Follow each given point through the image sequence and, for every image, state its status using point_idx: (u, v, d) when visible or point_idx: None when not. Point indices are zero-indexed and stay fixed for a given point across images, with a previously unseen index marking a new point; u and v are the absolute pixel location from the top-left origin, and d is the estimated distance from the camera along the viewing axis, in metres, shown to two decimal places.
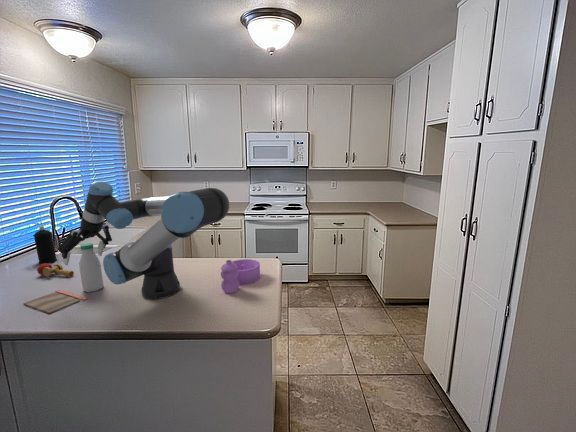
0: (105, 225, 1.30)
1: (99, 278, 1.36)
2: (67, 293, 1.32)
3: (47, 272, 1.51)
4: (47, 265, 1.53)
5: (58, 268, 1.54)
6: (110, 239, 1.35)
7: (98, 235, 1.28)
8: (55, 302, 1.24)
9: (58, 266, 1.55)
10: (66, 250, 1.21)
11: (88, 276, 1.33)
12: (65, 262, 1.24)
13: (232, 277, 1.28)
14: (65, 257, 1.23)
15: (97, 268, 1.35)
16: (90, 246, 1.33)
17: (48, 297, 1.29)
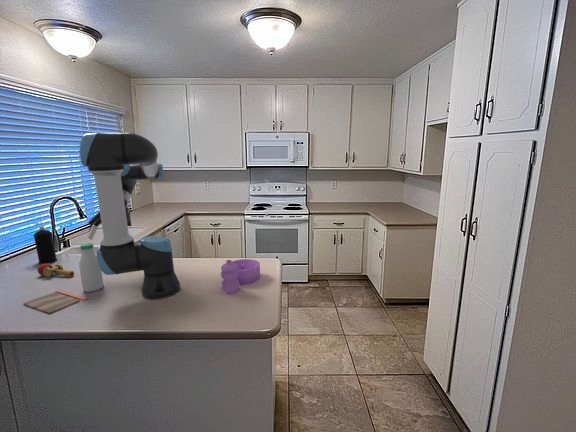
0: None
1: (99, 278, 1.36)
2: (67, 293, 1.32)
3: (47, 272, 1.51)
4: (47, 265, 1.53)
5: (58, 268, 1.54)
6: (127, 221, 1.46)
7: None
8: (55, 302, 1.24)
9: (58, 266, 1.55)
10: None
11: (88, 276, 1.33)
12: None
13: (232, 277, 1.28)
14: (90, 230, 1.46)
15: (97, 268, 1.35)
16: (90, 246, 1.33)
17: (48, 297, 1.29)
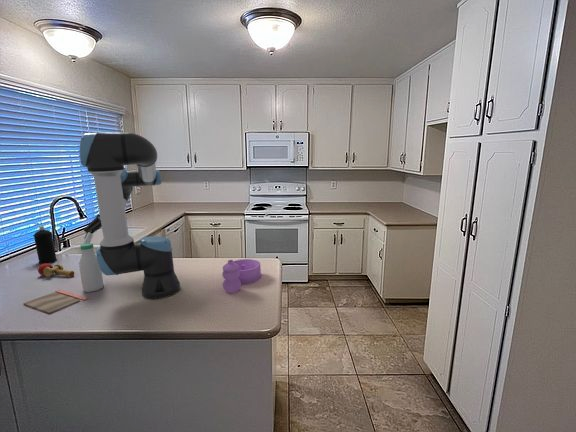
0: None
1: (99, 278, 1.36)
2: (67, 293, 1.32)
3: (48, 272, 1.51)
4: (48, 265, 1.53)
5: (59, 268, 1.54)
6: None
7: None
8: (55, 302, 1.24)
9: (59, 266, 1.55)
10: (88, 229, 1.46)
11: (88, 276, 1.33)
12: None
13: (234, 277, 1.28)
14: (85, 237, 1.44)
15: (97, 268, 1.35)
16: (90, 246, 1.33)
17: (48, 297, 1.29)
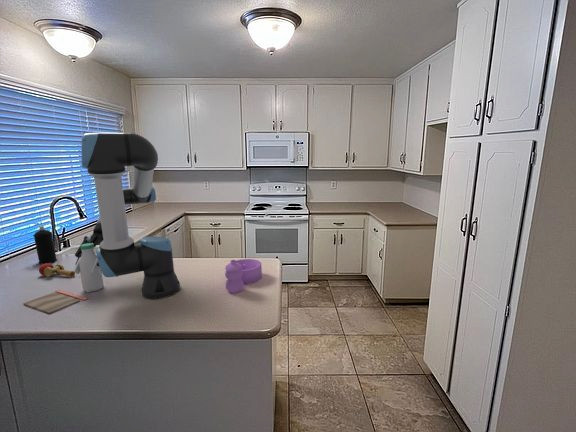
0: None
1: (99, 278, 1.36)
2: (67, 293, 1.32)
3: (48, 272, 1.51)
4: (48, 265, 1.53)
5: (59, 268, 1.54)
6: None
7: (100, 241, 1.39)
8: (55, 302, 1.24)
9: (59, 266, 1.55)
10: (79, 255, 1.37)
11: (88, 276, 1.33)
12: None
13: (237, 277, 1.28)
14: (76, 263, 1.35)
15: None
16: (90, 246, 1.33)
17: (48, 297, 1.29)
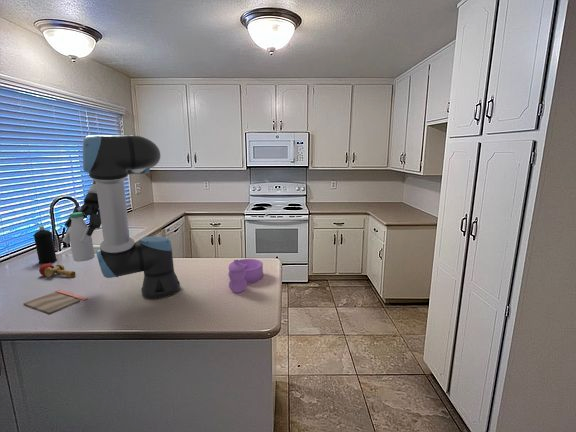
0: None
1: (89, 248, 1.32)
2: (67, 293, 1.32)
3: (49, 272, 1.50)
4: (49, 265, 1.53)
5: (60, 268, 1.54)
6: (95, 222, 1.32)
7: (90, 210, 1.35)
8: (55, 302, 1.24)
9: (60, 266, 1.55)
10: (69, 224, 1.33)
11: (78, 245, 1.29)
12: None
13: (241, 277, 1.28)
14: None
15: None
16: (80, 214, 1.29)
17: (48, 297, 1.29)
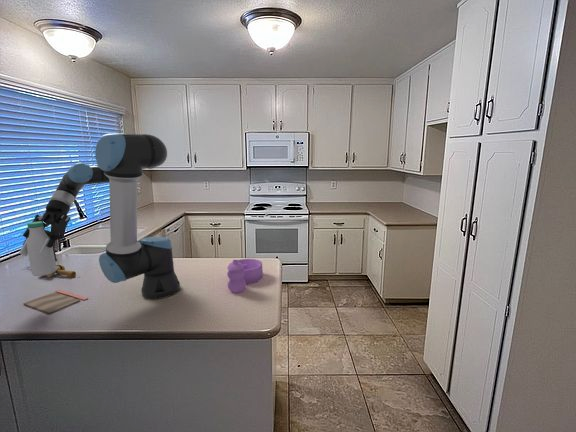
0: None
1: (50, 261, 1.20)
2: (67, 293, 1.32)
3: None
4: None
5: (60, 268, 1.54)
6: (57, 233, 1.20)
7: (52, 219, 1.23)
8: (55, 302, 1.24)
9: (60, 266, 1.54)
10: (27, 235, 1.21)
11: (36, 258, 1.17)
12: None
13: (240, 276, 1.28)
14: None
15: None
16: (39, 224, 1.17)
17: (48, 297, 1.29)
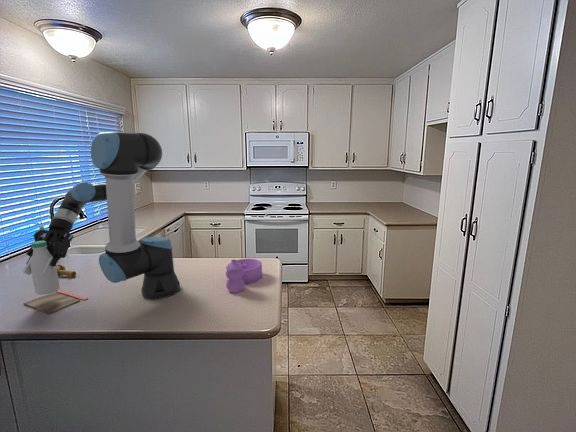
0: None
1: (53, 279, 1.22)
2: (67, 293, 1.32)
3: None
4: None
5: (60, 268, 1.54)
6: (60, 252, 1.22)
7: (55, 238, 1.25)
8: (55, 302, 1.24)
9: (60, 266, 1.54)
10: (31, 253, 1.23)
11: (40, 277, 1.19)
12: None
13: (238, 276, 1.28)
14: None
15: None
16: (42, 244, 1.19)
17: (48, 297, 1.29)
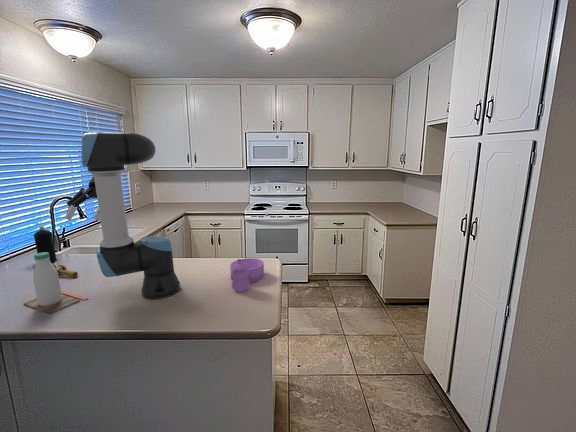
0: None
1: (56, 291, 1.23)
2: (67, 293, 1.32)
3: None
4: None
5: (62, 269, 1.54)
6: None
7: (96, 192, 1.43)
8: None
9: (62, 267, 1.54)
10: (71, 203, 1.43)
11: (43, 289, 1.20)
12: None
13: (244, 276, 1.29)
14: None
15: (54, 279, 1.22)
16: (45, 256, 1.20)
17: None
